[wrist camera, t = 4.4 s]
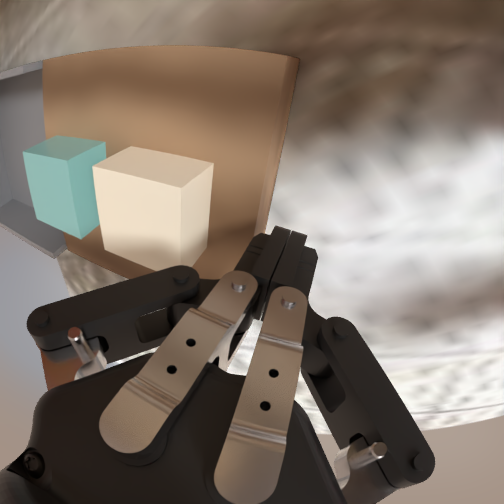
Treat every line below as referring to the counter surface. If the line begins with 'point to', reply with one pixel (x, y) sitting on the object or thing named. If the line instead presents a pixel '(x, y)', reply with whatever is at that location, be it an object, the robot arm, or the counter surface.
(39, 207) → the upright aqua block
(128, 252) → the ivory matte cuboid
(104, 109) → the walnut board
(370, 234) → the counter surface
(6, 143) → the tray
